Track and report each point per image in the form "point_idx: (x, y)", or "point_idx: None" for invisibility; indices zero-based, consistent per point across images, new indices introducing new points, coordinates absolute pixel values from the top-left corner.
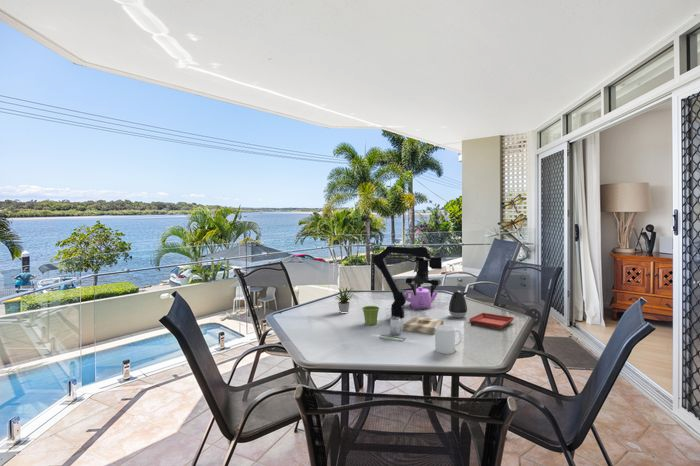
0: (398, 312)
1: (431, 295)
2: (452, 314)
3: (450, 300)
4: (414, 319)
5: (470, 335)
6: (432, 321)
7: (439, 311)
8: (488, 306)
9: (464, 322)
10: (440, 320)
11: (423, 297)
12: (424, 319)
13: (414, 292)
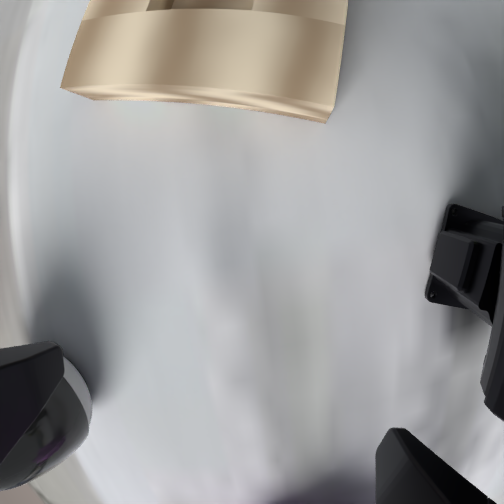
0: (496, 230)
1: (19, 348)
2: (64, 364)
3: (29, 440)
4: (303, 5)
5: (5, 43)
6: (138, 6)
7: (186, 476)
8: (46, 495)
9: (12, 264)
10: (79, 58)
11: None
12: (207, 27)
13: (432, 471)
